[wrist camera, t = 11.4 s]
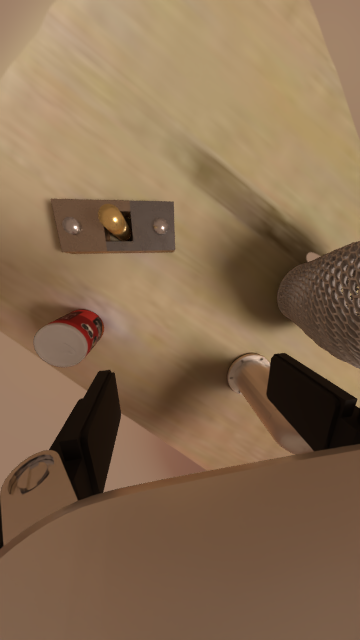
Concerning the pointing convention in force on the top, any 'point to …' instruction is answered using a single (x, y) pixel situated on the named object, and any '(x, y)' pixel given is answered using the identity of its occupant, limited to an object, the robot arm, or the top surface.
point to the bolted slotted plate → (92, 237)
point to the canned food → (68, 338)
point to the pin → (114, 221)
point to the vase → (326, 301)
